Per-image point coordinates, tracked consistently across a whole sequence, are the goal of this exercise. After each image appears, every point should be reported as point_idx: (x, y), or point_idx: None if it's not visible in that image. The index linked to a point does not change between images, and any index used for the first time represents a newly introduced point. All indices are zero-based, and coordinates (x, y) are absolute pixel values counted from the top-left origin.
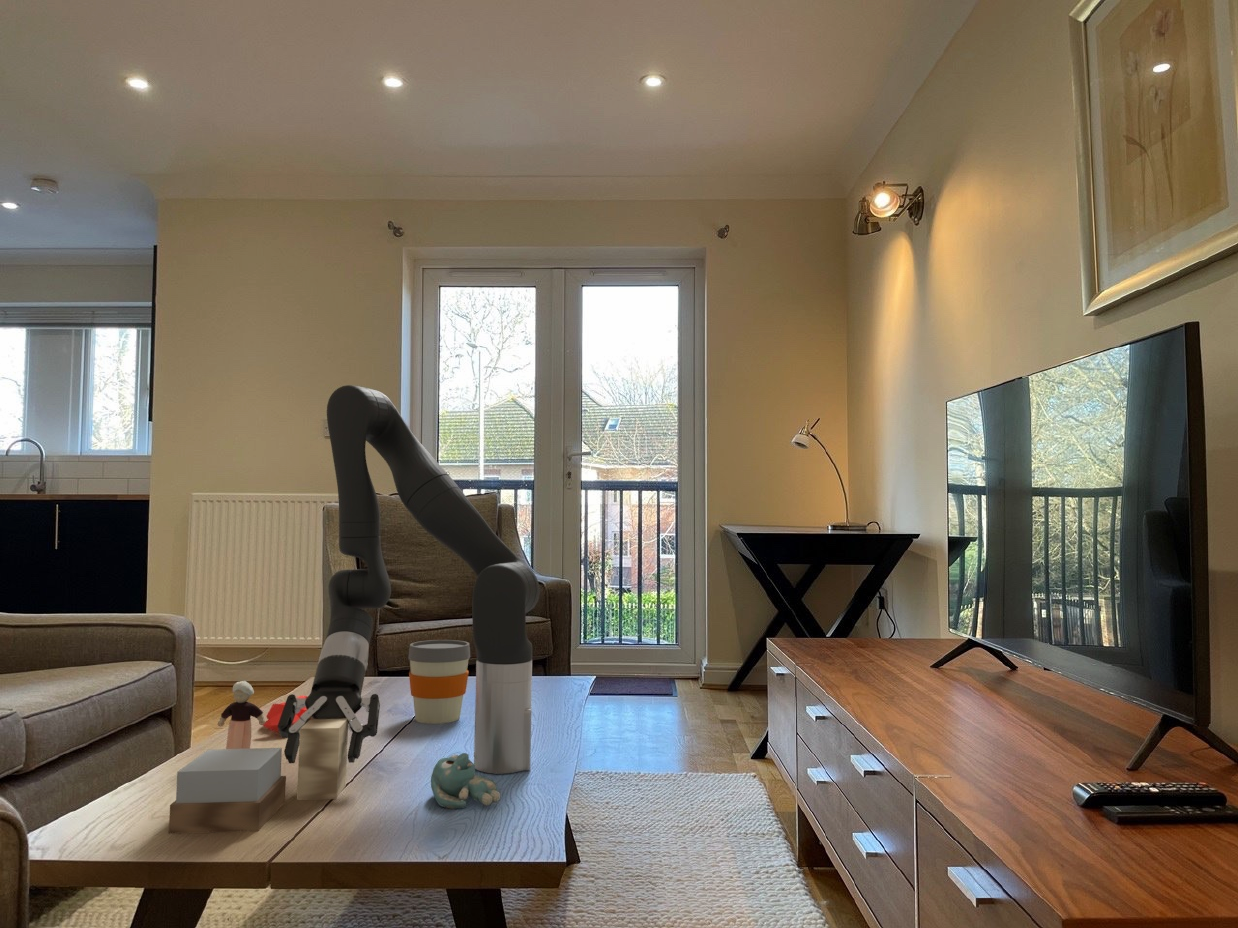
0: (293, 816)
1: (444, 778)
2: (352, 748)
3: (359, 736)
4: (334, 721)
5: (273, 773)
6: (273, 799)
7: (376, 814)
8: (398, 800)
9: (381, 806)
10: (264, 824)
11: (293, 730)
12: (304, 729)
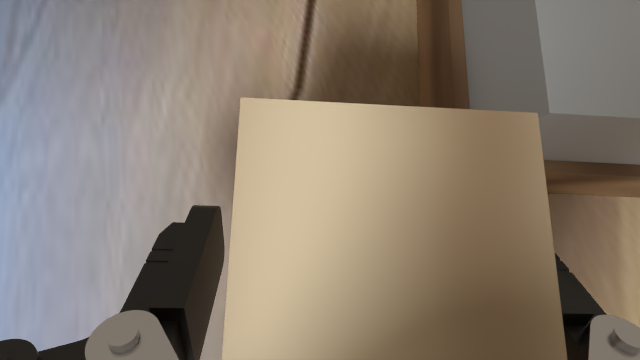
0: (360, 63)
1: None
2: (190, 224)
3: (136, 307)
4: (328, 344)
5: (487, 49)
6: (435, 58)
7: (130, 47)
8: (63, 157)
9: (118, 109)
10: (417, 21)
11: (612, 330)
12: (501, 114)
